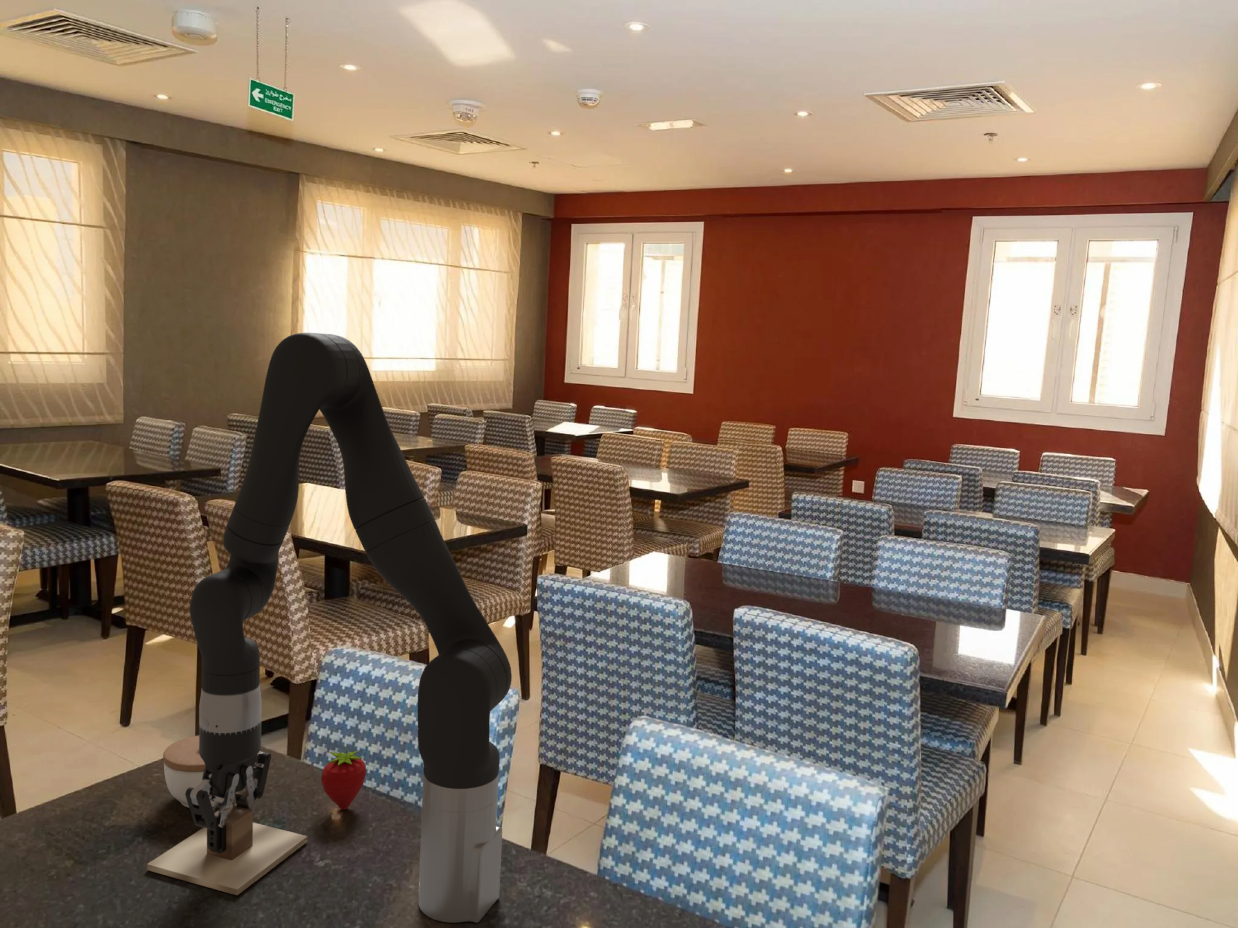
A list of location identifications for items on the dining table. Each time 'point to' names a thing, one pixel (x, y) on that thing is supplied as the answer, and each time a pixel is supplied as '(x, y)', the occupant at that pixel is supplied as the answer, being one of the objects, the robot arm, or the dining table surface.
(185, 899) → the dining table surface
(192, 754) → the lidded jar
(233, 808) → the lid
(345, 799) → the strawberry
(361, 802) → the dining table surface
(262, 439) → the robot arm
